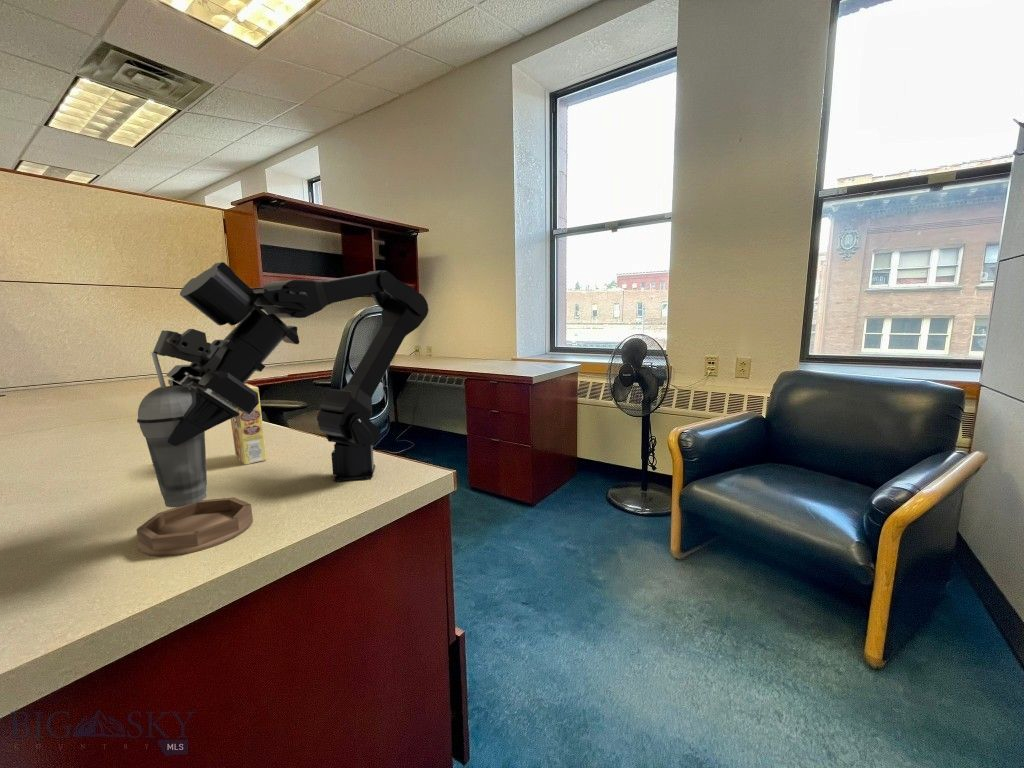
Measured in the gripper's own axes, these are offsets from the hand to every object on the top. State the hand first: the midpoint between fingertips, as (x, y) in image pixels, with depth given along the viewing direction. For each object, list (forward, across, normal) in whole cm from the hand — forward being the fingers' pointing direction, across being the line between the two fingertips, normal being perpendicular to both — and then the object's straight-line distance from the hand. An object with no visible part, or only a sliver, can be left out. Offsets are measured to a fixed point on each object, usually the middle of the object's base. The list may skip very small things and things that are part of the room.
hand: (163, 439), depth 56 cm
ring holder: (+8, +1, +11) cm, 13 cm away
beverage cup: (+5, 0, +7) cm, 9 cm away
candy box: (-4, -29, +23) cm, 37 cm away
